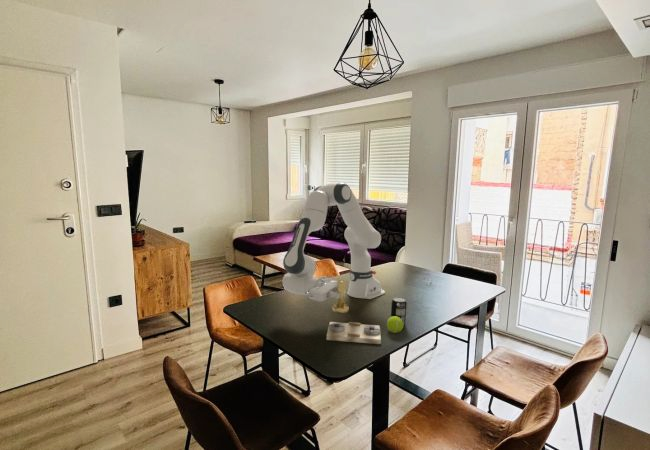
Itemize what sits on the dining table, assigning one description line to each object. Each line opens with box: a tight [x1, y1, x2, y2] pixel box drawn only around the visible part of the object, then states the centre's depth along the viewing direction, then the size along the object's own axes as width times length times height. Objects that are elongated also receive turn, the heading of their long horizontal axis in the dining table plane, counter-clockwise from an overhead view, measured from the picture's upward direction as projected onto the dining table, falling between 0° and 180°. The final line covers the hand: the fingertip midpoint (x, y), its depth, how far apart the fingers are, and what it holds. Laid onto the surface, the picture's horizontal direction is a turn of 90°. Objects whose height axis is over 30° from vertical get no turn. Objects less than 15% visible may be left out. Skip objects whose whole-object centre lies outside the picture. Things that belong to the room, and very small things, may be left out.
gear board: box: [326, 321, 382, 345], centre depth 145 cm, size 22×13×4 cm, turn 83°
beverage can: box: [390, 296, 407, 327], centre depth 156 cm, size 7×7×12 cm
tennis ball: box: [386, 316, 404, 334], centre depth 148 cm, size 7×7×7 cm
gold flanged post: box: [331, 279, 350, 314], centre depth 147 cm, size 7×7×13 cm
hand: (343, 293), depth 146 cm, fingers closed on gold flanged post, 3 cm apart
